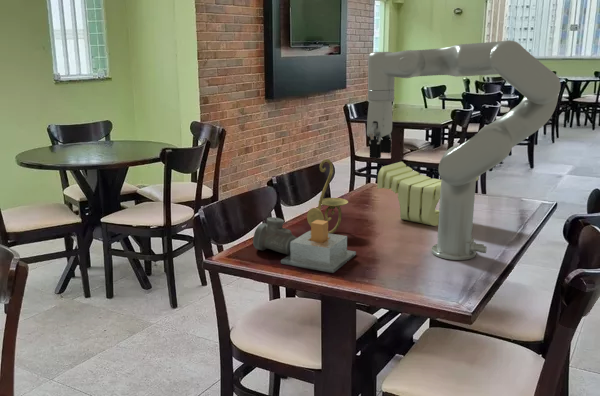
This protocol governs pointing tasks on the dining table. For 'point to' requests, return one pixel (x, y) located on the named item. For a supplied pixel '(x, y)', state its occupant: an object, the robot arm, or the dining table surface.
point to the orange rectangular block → (319, 231)
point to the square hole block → (319, 253)
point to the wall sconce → (326, 202)
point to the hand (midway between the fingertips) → (380, 155)
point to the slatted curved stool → (412, 192)
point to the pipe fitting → (273, 236)
